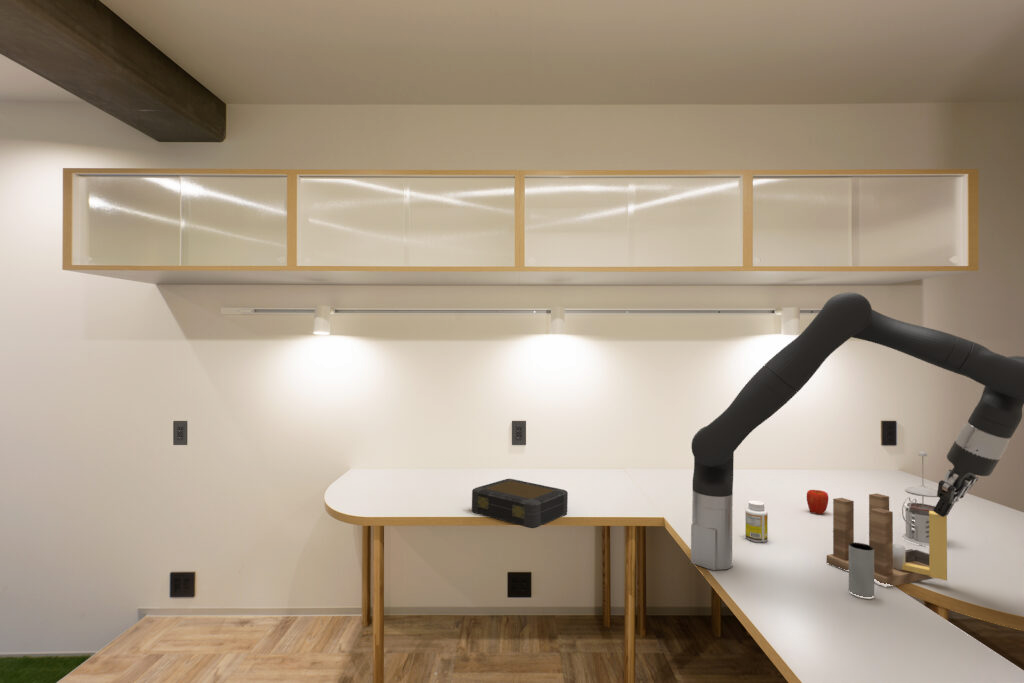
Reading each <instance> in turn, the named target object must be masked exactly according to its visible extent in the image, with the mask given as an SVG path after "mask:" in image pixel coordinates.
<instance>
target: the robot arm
mask: <svg viewBox="0 0 1024 683" xmlns="http://www.w3.org/2000/svg"><path fill="white" fill-rule="evenodd" d="M851 338H853V339H858V340H863V341H866V342H870V343H873V344H877V345H881V346H884V347H886V348H889V349H893V350H895V351H898V352H900V353H903V354H905V355H908V356H911V357H913V358H915V359H917V360H920V361H923V362H925V363H927V364H931V365H933V366H935V367H938V368H941V369H942V370H946V371H949V372H951V373H954V374H957V375H960V376H964V377H966V378H969V379H971V380H973V381H974V382H977V383H978V384H980V385H983V386H984V388H983V391H982V394H981V397H980V399H979V401H978V403H977V404H976V406H975V407H974V409H973V411H972V413H971V415H970V416H969V418H968V419H967V421H966V423H965V424H964V426H962V428H961V430H960V431H959V433H958V434H957V436H956V438H955V440H954V441H953V443H952V445H951V447H950V449H949V451H948V453H947V454H946V459H947V461H948V462H949V463H951V464H952V465H953V468H952V469H949V470H947V472H946V474H945V478H944V480H943V479H941V480H940V481H939V482H938V486H937V491H938V492H937V497H936V498H939V499H938V502H936V504H935V505H934V506H935V508H934V512H935V513H937V514H938V515H940V516H942V517H944V516H947V517H948V515H949V513H950V512H951V510H952V509H953V507H954V506H955V503H957V502H959V499H960V500H961V499H962V498H965V497H964V496H965V495H966V494H967V493H968V491H969V490H971V488H972V487H973V485H975V484H976V482H978V480H979V476H980V477H989V476H991V474H992V473H993V471H994V470H995V468H996V466H997V465H998V463H999V461H1000V459H1001V458H1002V456H1003V454H1005V452H1006V451H1007V448H1008V446H1009V443H1010V440H1011V439H1012V437H1013V435H1014V433H1015V432H1016V430H1017V428H1018V427H1019V424H1020V423H1021V421H1022V419H1023V408H1024V407H1023V406H1024V356H1019V355H1013V356H1005V355H1004V354H1003V355H1002V354H999V353H997V352H994V351H991V349H989V348H988V347H985V346H984V345H982V344H980V343H977V342H975V341H973V340H969V339H967V338H963V337H960V336H958V335H955V334H951V333H948V332H945V331H941V330H937V329H933V328H930V327H925V326H921V325H917V324H912V323H908V322H904V321H901V320H899V319H895V318H893V317H890V316H887V315H885V314H882V313H880V312H878V311H876V310H874V309H872V304H871V303H870V301H869V300H868V299H867V297H865V296H864V295H862V294H860V293H857V292H847V291H846V292H843V293H841V292H840V293H839V294H835V295H834V296H832V297H830V298H829V299H828V300H827V301H826V303H825V304H824V305H823V307H822V308H821V309H820V311H819V312H818V314H817V315H816V316H815V317H814V318H813V319H812V321H811V322H810V323H809V324H808V326H807V327H806V328H805V329H804V330H803V331H802V332H801V333H800V334H799V335H798V336H797V337H795V339H793V340H792V341H791V342H789V343H788V344H787V345H785V347H783V348H782V349H781V350H780V351H779V352H777V353H776V354H775V355H773V356H772V357H771V358H770V359H769V360H768V361H767V362H766V363H764V365H763V366H761V368H760V369H759V370H758V371H757V372H755V374H754V375H753V376H752V377H751V378H750V379H749V380H748V381H747V383H746V384H745V385H744V386H743V387H742V389H741V390H740V391H739V393H737V395H736V397H734V399H733V400H732V401H731V403H730V405H729V406H728V407H727V408H726V409H725V410H724V411H723V412H722V413H721V414H720V415H719V416H717V417H716V418H715V419H714V420H713V421H711V422H710V423H709V424H708V425H706V426H704V427H701V428H700V429H699V430H698V431H697V432H696V433H695V435H694V436H693V438H692V440H691V447H690V448H691V452H692V456H693V458H694V459H693V462H694V463H693V474H692V502H691V503H692V506H691V508H692V509H691V510H692V511H691V512H692V513H691V520H692V521H691V526H690V531H691V532H690V563H691V564H694V565H697V566H699V567H701V568H705V569H708V570H712V571H719V570H720V571H721V570H729V569H730V568H732V566H733V506H734V503H733V500H734V499H733V498H734V497H733V495H734V492H733V491H734V490H733V488H734V463H735V462H734V460H735V459H734V457H735V456H734V455H735V453H734V452H735V451H736V450H737V448H738V447H739V446H741V444H742V443H743V441H744V440H745V439H746V438H747V437H748V436H749V435H750V433H752V432H753V431H754V430H755V429H756V428H758V427H759V426H760V425H762V424H763V423H764V422H765V421H766V420H769V418H771V417H772V416H773V415H775V414H776V413H777V411H779V410H780V409H781V408H783V407H784V406H785V405H786V404H787V403H788V402H789V401H791V399H793V397H794V396H795V395H797V393H799V391H801V390H802V389H803V387H804V386H805V385H806V384H807V383H808V382H809V381H810V379H811V378H813V376H814V375H815V373H816V372H817V371H818V370H819V369H820V368H821V366H822V365H823V363H824V362H825V361H826V360H827V359H828V358H829V356H831V354H833V352H836V350H838V348H839V347H841V346H842V345H844V344H845V343H846V342H847V341H848V340H850V339H851ZM977 476H978V477H977Z"/></svg>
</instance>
